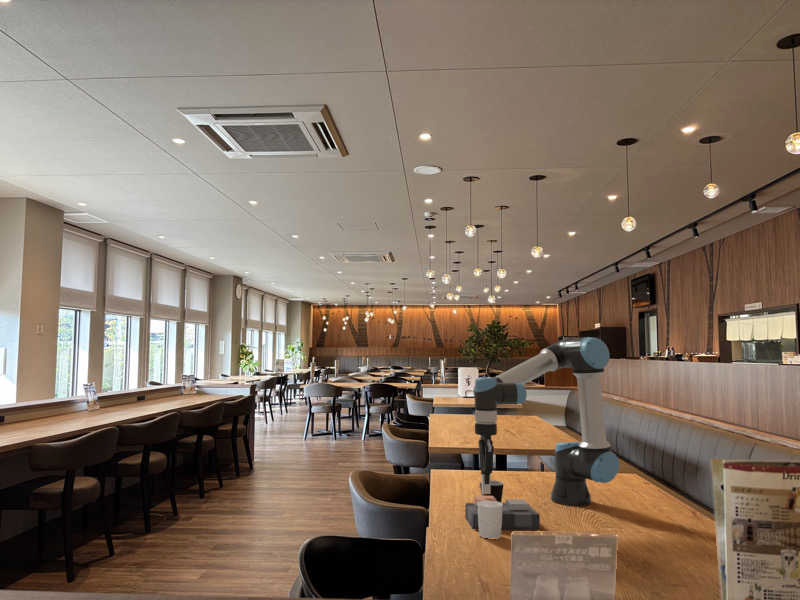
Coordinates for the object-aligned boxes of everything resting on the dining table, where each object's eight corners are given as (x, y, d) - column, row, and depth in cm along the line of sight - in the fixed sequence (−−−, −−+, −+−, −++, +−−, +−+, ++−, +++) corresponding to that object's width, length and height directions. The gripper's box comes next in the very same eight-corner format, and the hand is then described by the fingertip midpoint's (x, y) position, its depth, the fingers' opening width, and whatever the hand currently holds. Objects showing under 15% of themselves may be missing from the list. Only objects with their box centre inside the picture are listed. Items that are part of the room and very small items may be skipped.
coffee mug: (503, 514, 200) (503, 486, 201) (479, 512, 202) (479, 484, 203) (503, 506, 212) (503, 479, 213) (480, 504, 213) (481, 478, 215)
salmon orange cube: (492, 513, 192) (492, 495, 193) (496, 518, 186) (496, 500, 187) (474, 513, 192) (474, 495, 192) (477, 518, 186) (478, 500, 186)
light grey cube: (523, 517, 193) (523, 499, 194) (529, 522, 187) (529, 504, 187) (505, 517, 192) (505, 499, 193) (510, 522, 186) (510, 504, 187)
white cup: (496, 542, 170) (497, 508, 171) (473, 537, 174) (473, 504, 175) (506, 535, 176) (506, 502, 177) (483, 531, 180) (483, 499, 181)
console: (527, 518, 197) (527, 503, 197) (539, 530, 183) (539, 514, 183) (465, 517, 195) (465, 503, 196) (473, 530, 181) (473, 514, 182)
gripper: (471, 420, 198) (471, 488, 196) (479, 424, 186) (479, 498, 183) (492, 420, 199) (492, 488, 197) (501, 425, 186) (501, 498, 184)
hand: (486, 493), depth 190 cm, fingers closed
